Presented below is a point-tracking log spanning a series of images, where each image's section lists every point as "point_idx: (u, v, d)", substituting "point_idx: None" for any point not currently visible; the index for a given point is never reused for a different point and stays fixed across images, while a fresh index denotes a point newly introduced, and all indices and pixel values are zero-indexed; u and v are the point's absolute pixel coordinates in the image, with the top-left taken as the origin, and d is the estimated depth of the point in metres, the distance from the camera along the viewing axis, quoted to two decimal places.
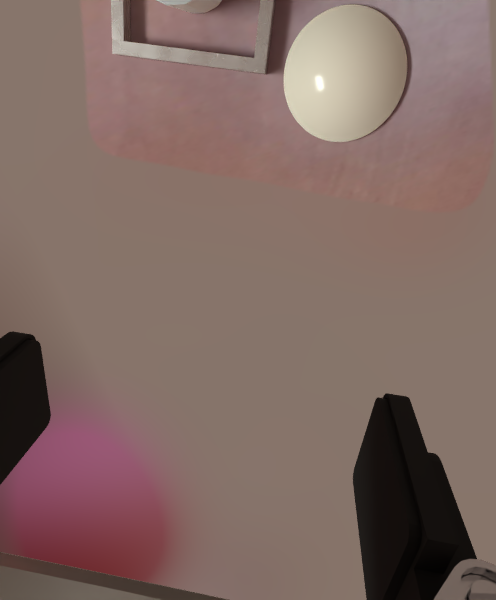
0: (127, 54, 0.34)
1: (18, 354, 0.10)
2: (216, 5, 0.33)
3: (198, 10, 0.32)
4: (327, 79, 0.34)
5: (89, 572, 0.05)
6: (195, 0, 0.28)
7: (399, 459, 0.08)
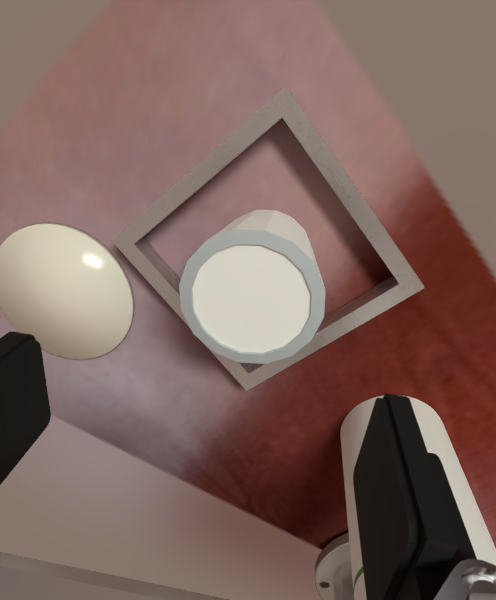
0: (265, 105, 0.20)
1: (18, 354, 0.10)
2: None
3: None
4: (70, 283, 0.27)
5: (89, 572, 0.05)
6: None
7: (399, 459, 0.08)
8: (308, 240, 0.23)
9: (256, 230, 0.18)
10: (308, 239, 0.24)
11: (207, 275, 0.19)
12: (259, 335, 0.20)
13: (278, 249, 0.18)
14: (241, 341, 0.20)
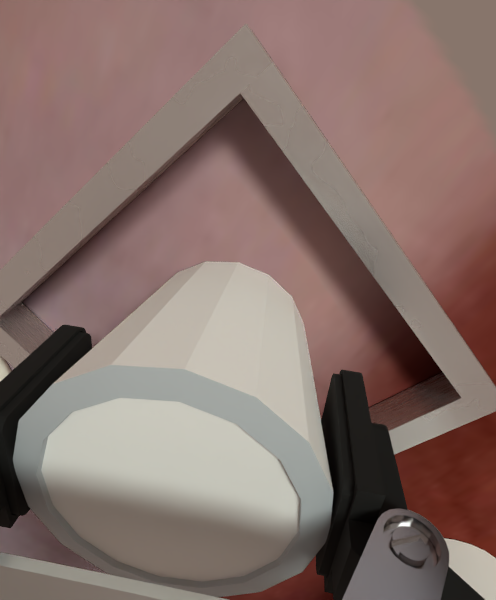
0: (206, 68, 0.10)
1: (74, 346, 0.11)
2: None
3: None
4: None
5: (89, 572, 0.05)
6: None
7: (344, 425, 0.09)
8: (297, 322, 0.12)
9: (164, 368, 0.07)
10: (298, 313, 0.14)
11: (68, 449, 0.08)
12: (193, 555, 0.09)
13: (220, 412, 0.07)
14: (158, 561, 0.10)
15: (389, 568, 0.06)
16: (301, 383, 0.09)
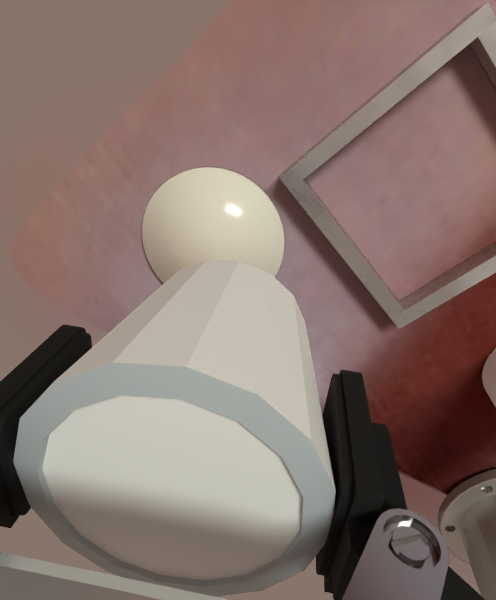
0: (462, 25, 0.20)
1: (74, 346, 0.11)
2: None
3: None
4: (222, 228, 0.28)
5: (89, 572, 0.05)
6: None
7: (344, 425, 0.09)
8: (298, 321, 0.12)
9: (166, 366, 0.07)
10: (299, 312, 0.14)
11: (69, 447, 0.08)
12: (195, 554, 0.09)
13: (222, 409, 0.07)
14: (159, 560, 0.10)
15: (389, 568, 0.06)
16: (303, 381, 0.09)
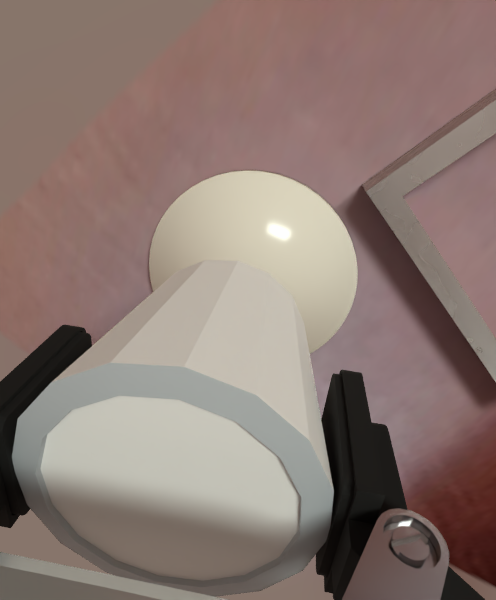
0: None
1: (74, 346, 0.11)
2: None
3: None
4: (267, 259, 0.19)
5: (89, 572, 0.05)
6: None
7: (344, 425, 0.09)
8: (297, 321, 0.12)
9: (164, 366, 0.07)
10: (298, 312, 0.14)
11: (67, 448, 0.08)
12: (193, 554, 0.09)
13: (219, 409, 0.07)
14: (157, 560, 0.10)
15: (389, 568, 0.06)
16: (301, 381, 0.09)
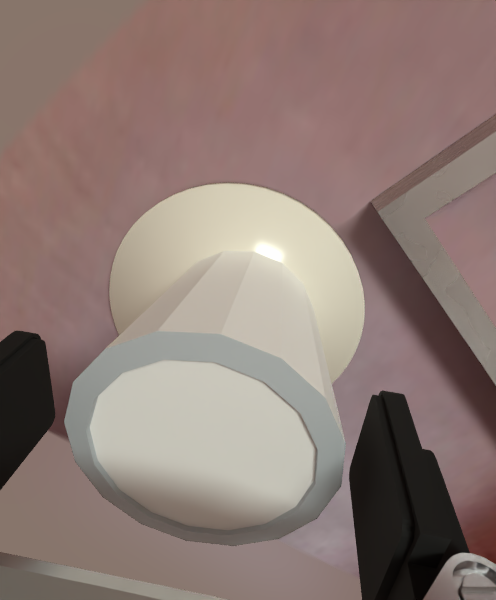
0: None
1: (24, 353, 0.10)
2: None
3: None
4: None
5: (89, 572, 0.05)
6: None
7: (394, 455, 0.08)
8: (309, 305, 0.14)
9: (203, 333, 0.08)
10: (308, 298, 0.15)
11: (114, 408, 0.10)
12: (220, 505, 0.11)
13: (250, 371, 0.09)
14: (188, 512, 0.11)
15: None
16: (316, 353, 0.10)
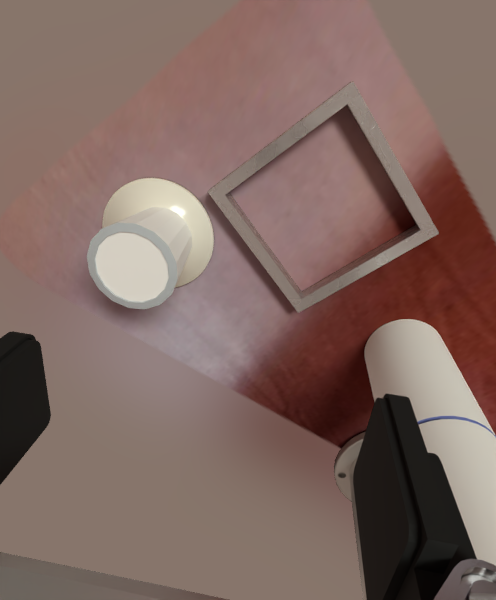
0: (336, 95, 0.28)
1: (18, 354, 0.10)
2: None
3: None
4: None
5: (89, 572, 0.05)
6: None
7: (399, 459, 0.08)
8: (184, 229, 0.34)
9: (131, 223, 0.28)
10: (188, 228, 0.35)
11: (104, 250, 0.30)
12: (139, 290, 0.31)
13: (145, 235, 0.29)
14: (128, 294, 0.31)
15: None
16: (173, 238, 0.30)
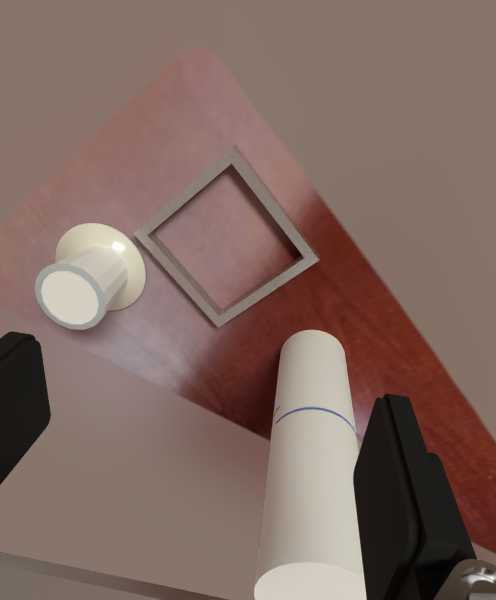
0: (222, 157, 0.36)
1: (18, 354, 0.10)
2: None
3: None
4: None
5: (89, 572, 0.05)
6: None
7: (399, 459, 0.08)
8: (118, 263, 0.42)
9: (65, 263, 0.36)
10: (122, 262, 0.43)
11: (47, 285, 0.38)
12: (78, 315, 0.39)
13: (76, 272, 0.37)
14: (70, 318, 0.39)
15: None
16: (103, 272, 0.38)
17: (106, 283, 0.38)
